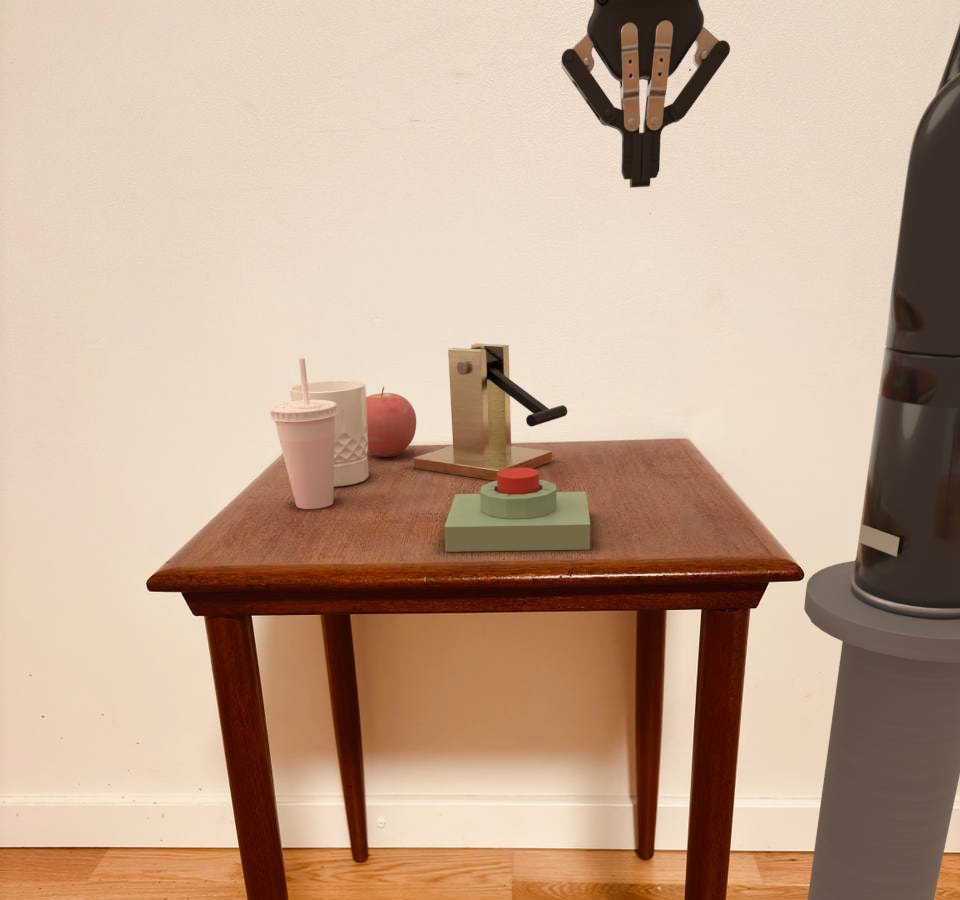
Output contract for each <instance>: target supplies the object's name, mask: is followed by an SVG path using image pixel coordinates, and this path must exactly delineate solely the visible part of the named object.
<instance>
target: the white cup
mask: <svg viewBox="0 0 960 900" xmlns="http://www.w3.org/2000/svg"><path fill="white" fill-rule="evenodd" d="M307 383H308V392H309V400H328V401H333V402H335V403H336V406H337V412H338V414H337V415H336V416H335V434H334V488H335V487H337V488H338V487H346V486H351V485H357V484H359V483H362V482H365V481H366V480H367V479H368V478H369V477H370V476H369V475H370V474H369V473H370V472H369V457H368V453H369V452H368V423H367V403H366V397H367V385H366V383H365V382H364V381H362V380H355V379H328V380H327V379H326V380H317V381H310V382H308V381H307ZM289 394H290V399H291V401H300V400H303V391H302V383H299V384H295V385H293V386H291V387H289Z"/></svg>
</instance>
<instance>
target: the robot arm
mask: <svg viewBox="0 0 960 900" xmlns="http://www.w3.org/2000/svg"><path fill="white" fill-rule="evenodd" d="M704 24H705V15H704V12H703V10H702V8H701V5H700V1H699V0H593V9H592V13H591V15H590V17H589V19H588V22H587V27H586V34H585V35H584V36H583V37H581V39H580V40H579V41H578V42H577V43H576V44H575V45H574V46H573V47H572V48H567V49H565V50H564V51H563V53H562V55H561V63H560V65H561V69H562V70H563V71H564V73H565V74H566V76H567V77H568V79H569V80H570V81H571V83H572V84H573V86H574V87H575V88H576V90H577V91H578V93H579V94H580V96H581V97H582V99H583V100H584V101H585V103H586V104H587V105H588V107H589V109H590V110H591V111H592V113H593V114H594V116H595V117H596V119H597V120H598V121H599V122H600V124H601V125H602V126H605V127H609V128H612V129H615V130H616V131H618V132H619V134H620V136H621V175H622V178H623V180H629V188H633V189H634V188H648V187H650V186H651V179H656V178H657V177H658V175H659V173H660V163H661V162H660V160H661V139H662V137H661V135H662V132H663V130H664V128H665V127H667V126H669V125H672V124H675V123H678V122H680V121H681V120H682V119H684V118H685V116H686V115H687V114H688V112H689V111H690V109H691V108H692V107H693V106H694V104H695V102H696V101H697V99H698V98H699V97H700V96H701V94H702V93H703V91H704V90H705V88H706V87H707V86H708V85H709V83H710V81H711V80H712V79H713V77H714V76H715V75H716V73H717V71H718V70H719V68H720V67H721V66H722V64H724V62H725V60H726V59H727V58H728V56H729V54H730V52H731V45H730V44H729V42H728V41H727V40H723V39H722V40H721V39H720V40H719V39H718V38H717V37H716V36H715V35H713V33H712V32H710V31H709V30H708V29H707V28H706V27H705V26H704ZM694 44H695V48H696V49H695V52H694V54H693V57H692V62H693V65H694V66H695V67H696V70H695V71H694V72H693V74H692V75H691V77H690V78H689V79H688V80H687V82H686V84H685V85H684V86H683V88H682V89H681V91H680V92H679V94H678V95H677V96H676V98H675V99H674V101H673V102H672V103H671V104H668V105H666V106H665V102H666V95H667V89H668V80H669V79H668V78H670V77H671V76H672V75H673V74H674V73H675V72H676V70H678V68H679V66H680V65H681V63H682V61H683V60H684V58H685V57H686V55H687V54H688V52H689V51H690V50H691V48H692V46H693V45H694ZM593 49H594V50H595V52H596V53H597V55H598V56H599V58H600V60H601V61H602V63H603V64H604V66H605V68H606V70H607V71H608V73H609V74H610V76H611V77H612V78H613V79H614V80H616V81H617V82H619V99H620V108H619V107H615V106H614V104H613V103H612V101H611V100H610V98H609V97H608V95H607V94H606V93H605V91H604V90H603V88H602V87H601V85H600V84H599V83H598V81H597V80H596V79H595V77H594V75H593V74H592V72H593V70H594V67H595V59H594V57H593V54H592V52H593ZM641 80H644V81H646V92H645V107H644V117H643V118H644V119H643V130H642V132H640V126H641V104H640V93H641V92H640V81H641ZM909 150H910V151H909V157H908V162H907V163H908V164H907V167H906V168H907V169H906V176H905V184H904V191H903V199H902V206H901V215H900V220H899V221H900V222H899V230H898V237H897V246H896V253H895V261H894V269H893V275H892V282H891V289H890V295H889V297H890V299H889V308H888V310H889V311H888V318H887V329H886V336H885V337H886V338H885V347H884V351H883V358H882V365H881V372H880V379H879V386H878V387H879V388H878V394H877V402H876V408H875V416H874V424H873V432H872V437H871V438H872V440H871V447H870V453H869V461H868V468H867V474H866V475H867V476H866V482H865V491H864V496H863V504H862V512H861V518H860V519H861V520H860V526H859V534H858V542H857V550H856V557H855V559H854V561H855V566H854V570H855V571H854V574H853V576H852V582H851V591H852V593H853V594H854V596H855V597H857V598H858V599H859V600H861V601H862V602H864V603H866V604H868V605H870V606H872V607H875V608H878V609H880V610H883V611H887V612H891V613H894V614H899V615H904V616H909V617H916V618H925V619H960V23H959V24H958V28H957V31H956V34H955V36H954V40H953V43H952V45H951V49H950V51H949V55H948V58H947V61H946V64H945V67H944V69H943V73H942V76H941V79H940V82H939V84H938V86H937V90H936V92H935V95H934V96H933V98H932V99H931V101H930V103H929V104H928V105H927V107H926V108H925V110H924V111H923V113H922V115H921V117H920V119H919V122H918V123H917V126H916V128H915V131H914V133H913V137H912V141H911V145H910V149H909Z"/></svg>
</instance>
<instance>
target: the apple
mask: <svg viewBox="0 0 960 900" xmlns="http://www.w3.org/2000/svg"><path fill="white" fill-rule="evenodd" d="M384 390H385V386H383V387H382V389H381V393H375V394H370V395H368V396H366V403H367V423H368V453H369V454H371V455H372V456H375V457H377V458H390V457H391V458H394V457H396V456H398V455H399V454H400V455H401V453H403V452H404V451H405V450H406V449H407V448H408V447H409V446H410V445H411V443H412V441H413V440H414V438H415V435H416V429H417V415H416V411H415V409H414V406H413V404H411V402H410V401H409V400H408V399H407V398H406V397H404V396H402V395H400V394H397V393H394V392H384Z"/></svg>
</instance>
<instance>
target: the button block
mask: <svg viewBox="0 0 960 900" xmlns="http://www.w3.org/2000/svg"><path fill="white" fill-rule="evenodd" d="M587 495H588V494H587V491H557V484H555V483H553V482H551V481H548V480H546V479H545V480H544V479H539V491H538V492H535V493H529V494H518V495H509V494H502V493H498V491H497V481H493V480H492V481H491V482H487V483H485V484H484V485H481V486H480V489H479V493H455V495H454V498H453V500H452V503H451V506H450V508H449V512H448V515H447V518H446V521H445V524H444V527H443V530H444V549H445V552H446V553H455V552H457V553H458V552H459V553H460V552H461V553H462V552H522V551H523V552H525V551H527V552H528V551H529V552H530V551H532V552H533V551H534V552H535V551H589V550H591V517H590V511H589V502H588V496H587Z"/></svg>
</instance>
